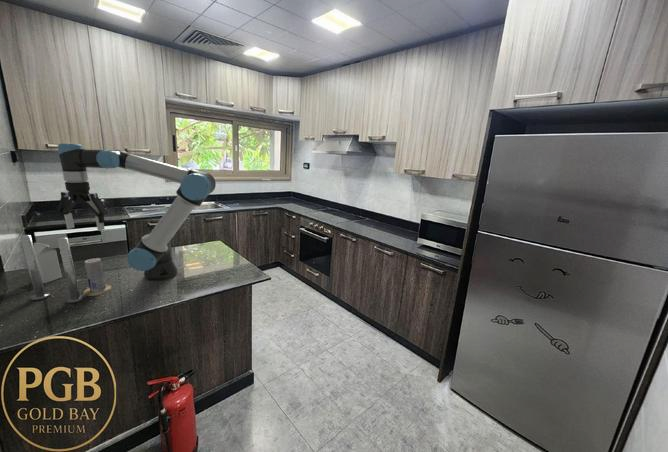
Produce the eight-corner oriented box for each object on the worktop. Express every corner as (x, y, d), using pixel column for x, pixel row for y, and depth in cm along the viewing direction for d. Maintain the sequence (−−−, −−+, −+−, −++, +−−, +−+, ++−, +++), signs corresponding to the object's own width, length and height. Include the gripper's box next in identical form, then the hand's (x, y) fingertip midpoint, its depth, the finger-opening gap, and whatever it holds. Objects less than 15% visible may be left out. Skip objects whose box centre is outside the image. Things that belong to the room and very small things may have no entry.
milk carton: (45, 283, 130) (36, 246, 125) (34, 281, 131) (24, 244, 126) (62, 277, 137) (54, 242, 132) (51, 275, 138) (43, 240, 133)
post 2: (88, 296, 121) (76, 236, 114) (75, 304, 115) (62, 240, 108) (76, 295, 121) (63, 235, 114) (62, 303, 115) (47, 239, 108)
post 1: (54, 294, 121) (40, 234, 114) (40, 301, 116) (24, 238, 108) (42, 293, 122) (26, 233, 114) (26, 300, 116) (9, 237, 109)
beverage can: (109, 287, 129) (103, 258, 125) (99, 292, 123) (94, 262, 120) (96, 286, 128) (91, 257, 125) (87, 292, 123) (80, 262, 119)
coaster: (116, 286, 131) (116, 285, 131) (98, 296, 121) (98, 295, 121) (97, 285, 131) (96, 284, 131) (77, 295, 122) (76, 294, 121)
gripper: (113, 181, 118) (120, 228, 123) (56, 179, 118) (66, 225, 124) (98, 183, 111) (106, 232, 116) (38, 180, 111) (49, 229, 116)
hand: (86, 229), depth 120 cm, fingers open, 13 cm apart
